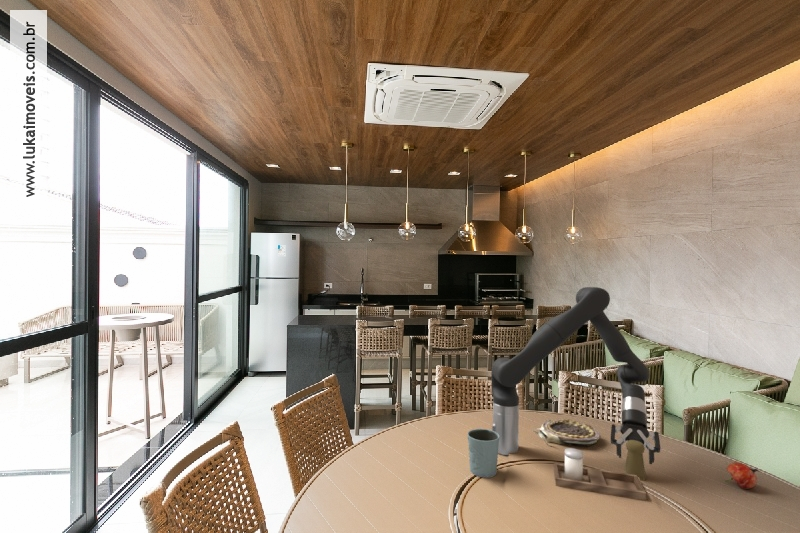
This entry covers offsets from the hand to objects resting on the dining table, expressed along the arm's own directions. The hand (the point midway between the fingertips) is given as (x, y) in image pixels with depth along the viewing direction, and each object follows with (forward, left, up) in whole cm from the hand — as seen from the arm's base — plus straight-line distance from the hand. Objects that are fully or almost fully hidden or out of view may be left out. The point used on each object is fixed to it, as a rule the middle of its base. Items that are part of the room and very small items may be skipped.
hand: (635, 460), depth 131 cm
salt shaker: (-19, -11, -4) cm, 23 cm away
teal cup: (-47, -13, -6) cm, 49 cm away
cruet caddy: (-13, -11, -5) cm, 18 cm away
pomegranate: (+30, +5, -6) cm, 31 cm away
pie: (-17, +27, -6) cm, 32 cm away
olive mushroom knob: (0, +1, -6) cm, 6 cm away
